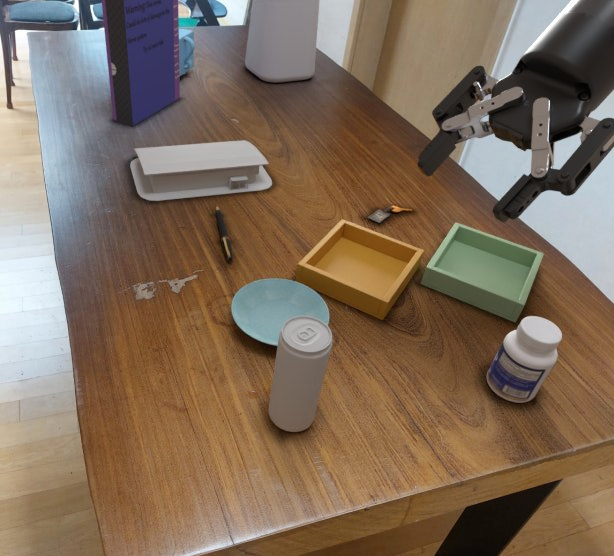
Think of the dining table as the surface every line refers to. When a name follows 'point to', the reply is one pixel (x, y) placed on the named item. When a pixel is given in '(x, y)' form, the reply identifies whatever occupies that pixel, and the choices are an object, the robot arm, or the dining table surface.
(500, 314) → the sage tray
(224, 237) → the fountain pen
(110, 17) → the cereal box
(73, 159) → the dining table surface
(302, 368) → the beverage can
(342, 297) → the ochre tray
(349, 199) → the dining table surface
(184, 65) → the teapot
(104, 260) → the dining table surface
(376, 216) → the key tag
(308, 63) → the plastic bottle
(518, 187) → the robot arm
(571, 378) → the dining table surface
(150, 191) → the white plastic case
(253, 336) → the saucer
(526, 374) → the pill bottle
